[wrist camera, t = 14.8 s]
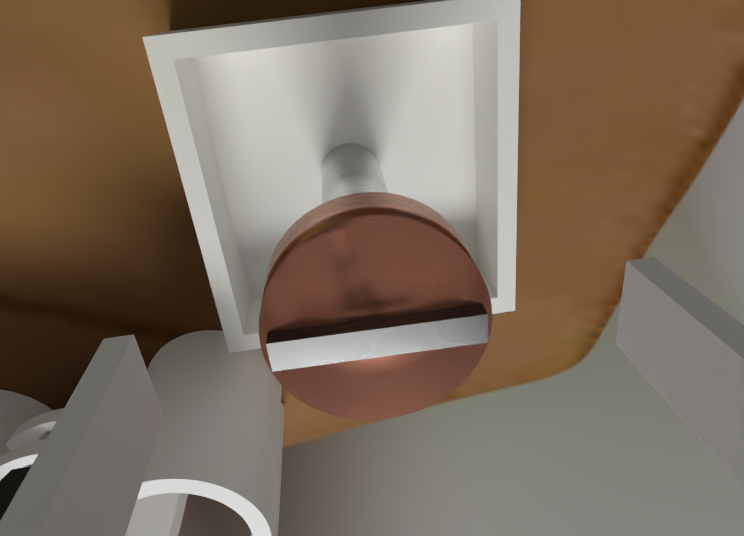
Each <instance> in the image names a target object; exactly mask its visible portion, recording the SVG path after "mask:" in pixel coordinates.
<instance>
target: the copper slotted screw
mask: <svg viewBox="0 0 744 536" xmlns="http://www.w3.org/2000/svg"><path fill="white" fill-rule="evenodd" d="M491 326H492V305H491V300H490V295H489V291H488V289H487V286H486V284H485V281H484V279H483V277H482V275H481V273H480V272H479V270H478V268H477V266H476V264H475V263H474V261H473V259H472V257H471V255H470V253H469V252H468V250H467V248H466V246H465V244H464V243H463V241H462V239H461V238H460V236H459V234H458V233H457V231H456V230H455V229H454V228H453V226H452V225H451V224H450V223H449V222H448V221H447V220H446V219H445V218H444V217H443V216H442V215H440V214H439V213H438V212H436V211H435V210H433V209H432V208H430V207H429V206H427V205H425V204H423V203H421V202H419V201H417V200H414V199H411V198H408V197H405V196H402V195H397V194H392V193H388V190H387V187H386V184H385V181H384V178H383V175H382V172H381V169H380V166H379V163H378V160H377V158H376V156H375V155H374V154H373V152H372V151H371V150H369V149H368V148H367V147H365V146H363V145H360V144H356V143H346V144H342V145H339V146H337V147H335V148H334V149H332V150H331V151H330V152H329V153H328V155H327V156H326V157H325V160H324V162H323V165H322V204H321V205H319V206H317V207H315V208H314V209H312V210H310V211H309V212H307V213H306V214H304V215H303V216H302V217H301V218H300V219H298V220H297V221H296V222H295V223H294V224H293V225H292V226H291V227H290V228H289V229H288V230H287V231H286V233H285V234H284V235H283V237H282V238H281V240H280V241H279V243H278V244H277V246H276V248H275V250H274V252H273V254H272V257H271V260H270V263H269V266H268V271H267V276H266V282H265V287H264V293H263V298H262V304H261V310H260V316H259V339H260V346H261V349H262V352H263V355H264V358H265V361H266V363H267V365H268V367H269V368H270V370H271V372H272V373H273V375H274V376H275V377H276V379H277V380H278V381H279V383H280V384H281V385H282V386H283V387H284V388H285V389H286V390H287V391H288V392H290V393H291V394H292V395H293V396H295V397H296V398H297V399H299V400H300V401H302V402H304V403H305V404H307V405H309V406H311V407H313V408H315V409H317V410H319V411H322V412H325V413H328V414H331V415H335V416H339V417H344V418H350V419H359V420H376V419H387V418H393V417H398V416H402V415H406V414H409V413H413V412H416V411H418V410H421V409H423V408H426V407H428V406H430V405H432V404H433V403H435V402H437V401H439V400H441V399H442V398H444V397H445V396H447V395H448V394H450V393H451V392H452V391H453V390H455V389H456V388H457V387H458V386H459V385H460V384H461V383H462V382H463V381H464V380H465V379H466V378H467V377H468V376H469V375H470V374H471V372H472V371H473V370H474V368H475V367H476V365H477V364H478V362H479V361H480V359H481V357H482V355H483V353H484V351H485V348H486V346H487V343H488V341H489V336H490V332H491Z"/></svg>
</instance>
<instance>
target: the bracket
mask: <svg viewBox="0 0 744 536" xmlns="http://www.w3.org/2000/svg"><path fill="white" fill-rule="evenodd" d="M147 371H148V374H149V376H150V379H151V382H152V384H153V387H154V390H155V392H156V395H157V398H158V400H159V403H160V406H161V408H162V411H163V414H164V417H163V420H162V423H161V426H160V429H159V432H158V436H157V439H156V442H155V445H154V448H153V451H152V454H151V457H150V460H149V463H148V466H147V470H146V473H145V476H144V479H143V482H142V485H141V488H140V491H139V494H138V497H137V501H136V504H135V507H134V510H133V513H132V516H131V519H130V522H129V525H128V528H127V532H126V535H125V536H178V534H179V530H180V526H181V521H182V517H183V513H184V509H185V505H186V500H187V496H188V494H194V495H200V496H204V497H208V498H211V499H214V500H216V501H219V502H221V503H223V504H225V505H227V506H229V507H230V508H232V509H233V510H235V511H236V512H237V513H238V514H239V515H241V516H242V518H243V519H244V520H245V521H246V522H247V524H248V525H249V527H250V529H251V532H252V535H251V536H278V521H279V501H280V482H281V462H282V444H283V425H284V405H283V404H282V403H281V391H282V385H281V384H280V383H279V381H278V380H277V379H276V377H275V376H274V375H273V373H272V372H271V370H270V368H269V367H268V365H267V363H266V361H265V358H264V355H263V352H262V349H261V348H260V349H253V350H247V351H240V352H233V353H229V351H228V347H227V344H226V340H225V336H224V333H223V331H218V330H205V331H197V332H192V333H188V334H185V335H182V336H180V337H177V338H175V339H173V340H172V341H170V342H168V343H167V344H166V345H164V346H163V347H162V348H161V349H160V350H159V351H158V352H157V353H156V354H155V356H154V357H153V359H152V360H151V362H150V364H149V367H148V369H147ZM63 409H64V408H62V409H57V410H52V409H51V408H49V407H48V406H46V405H44V404H43V403H41V402H39V401H37V400H35V399H32V398H30V397H27V396H24V395H22V394H18V393H15V392H11V391H6V390H0V480H1V479H2V478H3V477H4V476H5V475H7V474H8V473H9V472H10V471H11V470H12V469H18V468H24V467H30V466H32V464H33V462H34V461H35V459H36V457H37V455H38V454H39V452H40V450H41V448H42V447H43V445H44V443H45V441H46V439H47V438H48V436H49V434H50V432H51V431H52V429H53V427H54V425H55V424H56V422H57V420H58V418H59V417H60V415H61V413H62V411H63Z"/></svg>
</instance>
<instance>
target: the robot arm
mask: <svg viewBox="0 0 744 536" xmlns="http://www.w3.org/2000/svg"><path fill="white" fill-rule="evenodd" d="M616 345H617V346H618V347H619V349H620V350H621V351H622V352H623V353H624V354H625V355H626V356H627V358H628V359H629V360H630V361H631V362H632V363H633V364H634V366H635V367H636V368H637V369H638V370H639V371H640V372H641V373H642V374H643V376H644V377H645V378H646V379H647V380H648V381H649V382H650V384H651V385H652V386H653V387H654V388H655V389H656V390H657V392H658V393H659V394H660V395H661V396H662V397H663V398H664V399H665V401H666V402H667V403H668V404H669V405H670V406H671V407H672V408H673V410H674V411H675V412H676V413H677V414H678V415H679V416H680V418H681V419H682V420H683V421H684V422H685V423H686V424H687V426H688V427H689V428H691V430H692V431H693V432H694V433H695V435H696V436H697V437H698V438H699V439H700V440H701V441H702V442H703V444H704V445H705V446H706V447H707V448H708V449H709V450H710V452H711V453H712V454H713V455H714V456H715V457H716V458H717V459H718V461H719V462H720V463H721V464H722V465H723V466H724V467H725V468H726V470H727V471H728V472H729V473H730V474H731V475H732V476H733V478H734V479H735V480H736V481H737V482H738V483H739V484H740V485H741V487H742V488H743V489H744V325H743V324H741V323H740V322H739V321H737V320H736V319H735V318H733V317H732V316H731V315H729V314H728V313H727V312H726V311H724V310H723V309H722V308H720V307H719V306H718V305H716V304H715V303H714V302H712V301H711V300H710V299H708V298H707V297H706V296H704V295H703V294H702V293H700V292H699V291H698V290H697V289H695V288H694V287H693V286H691V285H690V284H689V283H687V282H686V281H685V280H683V279H682V278H681V277H679V276H678V275H677V274H676V273H674V272H673V271H672V270H670V269H669V268H668V267H666V266H665V265H664V264H662V263H661V262H660V261H659V260H657V259H656V258H655V257H650V258H643V259H636V260H629V261H626V268H625V276H624V284H623V291H622V299H621V306H620V314H619V322H618V330H617V337H616ZM163 417H164V414H163V411H162V408H161V406H160V403H159V400H158V398H157V395H156V392H155V390H154V387H153V384H152V382H151V379H150V376H149V374H148V371H147V368H146V366H145V363H144V360H143V358H142V355H141V352H140V350H139V347H138V344H137V342H136V339H135V336H134V334H133V335H126V336H119V337H112V338H106V339H103V341H102V342H101V344H100V346H99V348H98V349H97V351H96V353H95V355H94V356H93V358H92V360H91V362H90V364H89V365H88V367H87V369H86V371H85V372H84V374H83V376H82V378H81V379H80V381H79V383H78V385H77V386H76V388H75V390H74V392H73V394H72V395H71V397H70V399H69V401H68V402H67V404H66V406H65V408H64V409H63V411H62V413H61V415H60V417H59V418H58V420H57V422H56V424H55V425H54V427H53V429H52V431H51V432H50V434H49V436H48V438H47V439H46V441H45V443H44V445H43V447H42V448H41V450H40V452H39V454H38V455H37V457H36V459H35V461H34V462H33V464H32V466H30V467H24V468H18V469H12V470H11V471H10V472H9V473H8V474H7V475H5V476H4V477H3V478H2V479H1V480H0V536H125V535H126V532H127V528H128V525H129V522H130V519H131V516H132V513H133V510H134V507H135V504H136V501H137V497H138V494H139V491H140V488H141V485H142V482H143V479H144V476H145V473H146V470H147V466H148V463H149V460H150V457H151V454H152V451H153V448H154V445H155V442H156V439H157V436H158V432H159V429H160V426H161V423H162V420H163Z"/></svg>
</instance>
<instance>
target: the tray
mask: <svg viewBox="0 0 744 536" xmlns="http://www.w3.org/2000/svg"><path fill="white" fill-rule="evenodd" d="M142 38H143V41H144V45H145V49H146V52H147V56H148V59H149V63H150V67H151V70H152V74H153V78H154V81H155V85H156V89H157V92H158V96H159V100H160V103H161V107H162V110H163V114H164V118H165V121H166V125H167V129H168V132H169V136H170V140H171V143H172V147H173V151H174V154H175V158H176V161H177V165H178V169H179V172H180V176H181V180H182V183H183V187H184V191H185V194H186V198H187V202H188V205H189V209H190V212H191V216H192V220H193V223H194V227H195V231H196V234H197V238H198V242H199V245H200V249H201V253H202V256H203V260H204V263H205V267H206V271H207V274H208V278H209V282H210V285H211V289H212V293H213V296H214V300H215V304H216V307H217V311H218V314H219V318H220V322H221V325H222V329H223V333H224V336H225V340H226V344H227V347H228V351H229V353H233V352H240V351H247V350H253V349H260V348H261V346H260V339H259V316H260V310H261V304H262V298H263V293H264V287H265V282H266V276H267V271H268V266H269V263H270V260H271V257H272V254H273V252H274V250H275V248H276V246H277V244H278V243H279V241H280V240H281V238H282V237H283V235H284V234H285V233H286V231H287V230H288V229H289V228H290V227H291V226H292V225H293V224H294V223H295V222H296V221H297V220H298V219H300V218H301V217H302V216H303V215H304V214H306V213H307V212H309V211H310V210H312V209H314V208H315V207H317V206H319V205H321V204H322V165H323V162H324V160H325V157H326V156H327V155H328V153H329V152H330V151H331V150H332V149H334V148H335V147H337V146H339V145H342V144H346V143H356V144H360V145H363V146H365V147H367V148H368V149H369V150H371V151H372V152H373V154H374V155H375V156H376V158H377V160H378V163H379V166H380V169H381V172H382V175H383V178H384V181H385V184H386V187H387V190H388V193H392V194H397V195H402V196H405V197H408V198H411V199H414V200H417V201H419V202H421V203H423V204H425V205H427V206H429V207H430V208H432V209H433V210H435V211H436V212H438V213H439V214H440V215H442V216H443V217H444V218H445V219H446V220H447V221H448V222H449V223H450V224H451V225H452V226H453V228H454V229H455V230H456V231H457V233H458V234H459V236H460V238H461V239H462V241H463V243H464V244H465V246H466V248H467V250H468V252H469V253H470V255H471V257H472V259H473V261H474V263H475V264H476V266H477V268H478V270H479V272H480V273H481V275H482V277H483V279H484V281H485V284H486V286H487V289H488V291H489V295H490V300H491V305H492V314H495V313H502V312H508V311H515V284H516V226H517V169H518V111H519V54H520V0H424V1H415V2H407V3H399V4H390V5H382V6H373V7H365V8H357V9H348V10H340V11H332V12H323V13H315V14H306V15H298V16H290V17H281V18H273V19H265V20H256V21H248V22H239V23H231V24H223V25H214V26H206V27H198V28H189V29H181V30H172V31H167V32H162V33H158V34H154V35H150V36H145V37H142Z"/></svg>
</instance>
